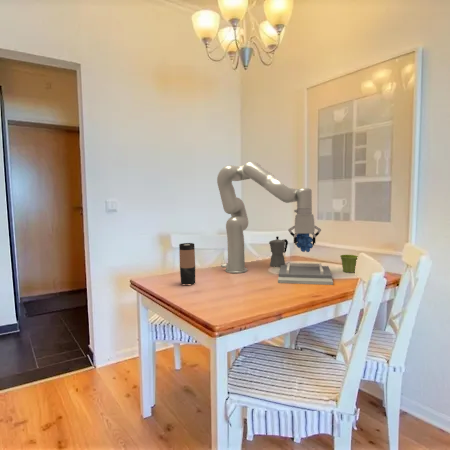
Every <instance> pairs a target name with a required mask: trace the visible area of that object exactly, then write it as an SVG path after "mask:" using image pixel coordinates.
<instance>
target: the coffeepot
mask: <svg viewBox="0 0 450 450" xmlns="http://www.w3.org/2000/svg"><path fill="white" fill-rule="evenodd" d="M268 244H269V246H270V252H271V256H270V262H269V266H270V267H272V268H280V267H281V265H286V261H285V255H284V253H286V252H287V248H288V245H289V241H288V239H286V238H285V239H279V236H276V237H275V239H273V240H270V241H269V242H268Z"/></svg>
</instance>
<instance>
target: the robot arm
mask: <svg viewBox="0 0 450 450" xmlns="http://www.w3.org/2000/svg"><path fill="white" fill-rule="evenodd" d="M250 179H251V180H252V181H253V182H255V183H257V184H258V185H259V186H261V187H262V188H264V189H265V190H266V191H268V192H269V193H270V194H272V195H273V196H274V197H276V198H277V199H279V200H280V201H281V202H283V203H286V204H289V203H295V202H296V209H294V210H293V213H296V214H295V217H294V225H292V226H291V227H289V228H288V229H287V230H288V232H289V233H290V235H291V236H292V238H293V244H294V246H297V234H309V235H312V239H313V241H312V244H313V246H315V244H316V238H317V236H318V235H320V233H321V231H322V228H320V227H318V226H316V225H315V218H314V217H315V216H314V213H313V211H312V210H313V206H312V205H313V203H312V202H313V201H312V200H313V199H312V198H313V195H312V194H313V193H312V190H313V189H311V188H309V187H304V188H302V187H301V188H290V187H288V186H287V185H285V184H284V183H283V182H281V181H279V180H278V179H277V178H276V176H275V175H274V174H273V173H272V172H270V171H268V169H265V168H264V167H262V165H261V164H259V162H256V161H247V162H245V164H243V165H230V164H229V165H225V166H223V167H222V168H221V169H220V170H219V172H218V174H217V178H216V181H217V182H216V183H217V188H218V191H219V194H220V195H219V196H220V199H221V204H222V209H223V210H224V213H226V214H227V215H230V216H231V217H229V218H228V219H227V220H226V223H225V229H226V237H227V242H226V243H227V262H226V263H220V267H221V268H225V272H226V273H230V274H242V273H247V272H248V267H245V266H246V265H245V258H246V256H245V236H244V231H245V230H246V229H247V228H248V227H249V217H248V214H247V210H246V207H245V204H244V201H243V200H242V198H240V197H238V196H237V194H236V191H235V188H234V185H233V182H239V181H246V180H250ZM292 230H294V232H293V231H292ZM315 230H317V231H315Z"/></svg>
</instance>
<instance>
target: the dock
mask: <svg viewBox="0 0 450 450" xmlns="http://www.w3.org/2000/svg"><path fill="white" fill-rule="evenodd" d="M277 283H278V284H294V285H295V284H299V285H325V286H327V285H329V286H330V285H331V286H333V285H334V281H333V275H332V272H331V270H330V267H329V265H322V263H312V262H311V263H309V262H288V263H287V265H286V264H285V265H281V267H279V272H278V278H277Z"/></svg>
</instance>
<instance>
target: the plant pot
mask: <svg viewBox="0 0 450 450" xmlns="http://www.w3.org/2000/svg"><path fill="white" fill-rule="evenodd" d="M339 257H340V260H341V264H342V272H344V273H347V272H351V273H355V272H356V267H355V266H356V265H357V261H356V260H358V258H359V255H354V254H340V256H339ZM357 257H358V258H357ZM354 271H355V272H354Z"/></svg>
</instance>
